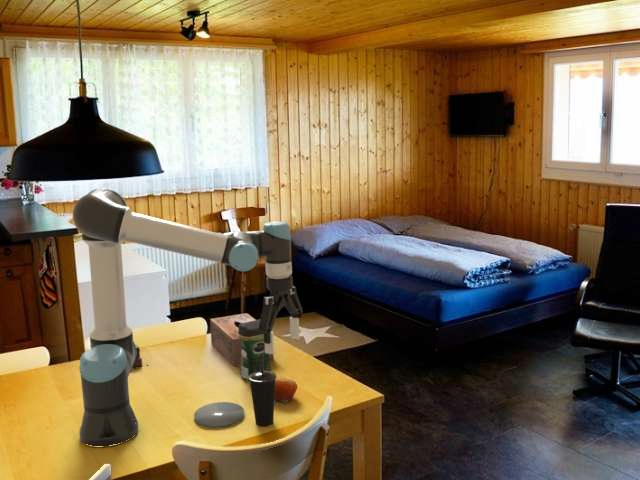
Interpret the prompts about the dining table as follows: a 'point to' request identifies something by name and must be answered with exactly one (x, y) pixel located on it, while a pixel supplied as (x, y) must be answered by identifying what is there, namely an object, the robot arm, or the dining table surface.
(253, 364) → the coffee jar
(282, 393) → the fruit
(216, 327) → the tissue box cover
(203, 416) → the slate plate
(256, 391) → the drinking cup
